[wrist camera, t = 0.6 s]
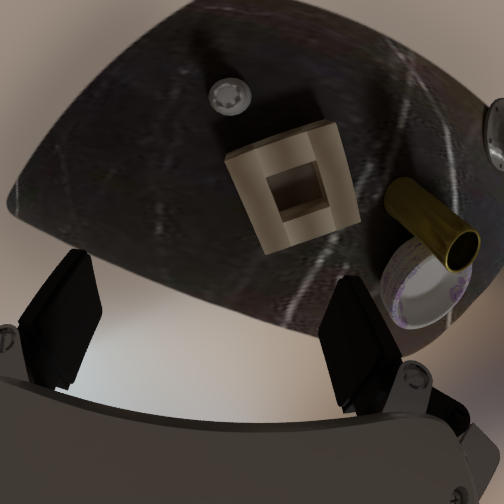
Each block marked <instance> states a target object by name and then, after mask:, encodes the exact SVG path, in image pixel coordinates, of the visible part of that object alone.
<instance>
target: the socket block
mask: <svg viewBox="0 0 504 504" xmlns="http://www.w3.org/2000/svg"><path fill="white" fill-rule="evenodd" d="M224 162H225V164H226V166H227V168H228V171H229V173H230V175H231V177H232V180H233V182H234V184H235V186H236V189H237V191H238V193H239V195H240V198H241V200H242V202H243V204H244V207H245V209H246V211H247V214H248V216H249V218H250V220H251V223H252V225H253V227H254V230H255V232H256V234H257V236H258V239H259V241H260V243H261V246H262V248H263V250H264V253H265V255H267V254H270V253H273V252H276V251H279V250H282V249H285V248H287V247H290V246H293V245H296V244H299V243H302V242H305V241H308V240H310V239H313V238H316V237H319V236H322V235H325V234H328V233H331V232H333V231H336V230H339V229H342V228H345V227H348V226H350V225H353V224H356V223H359V222H361V220H360V215H359V210H358V206H357V201H356V196H355V192H354V188H353V184H352V179H351V175H350V171H349V168H348V164H347V160H346V156H345V153H344V149H343V145H342V142H341V139H340V135H339V132H338V129H337V125H336V123H335V122H332V121H329V120H326V119H324V120H321V121H317V122H314V123H311V124H308V125H304V126H301V127H298V128H295V129H292V130H289V131H286V132H283V133H280V134H277V135H274V136H271V137H269V138H266V139H263V140H260V141H258V142H255V143H252V144H250V145H247V146H244V147H242V148H239V149H237V150H234V151H232V152H229V153H227V154H226V157H225V161H224Z"/></svg>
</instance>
